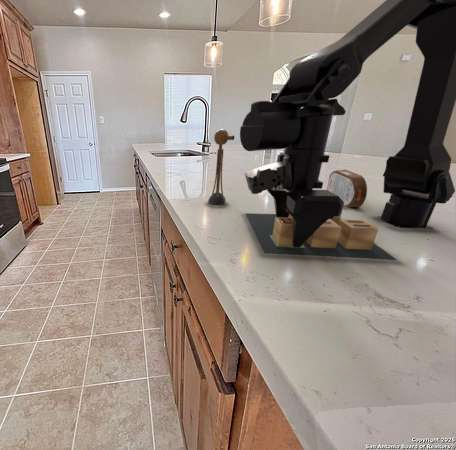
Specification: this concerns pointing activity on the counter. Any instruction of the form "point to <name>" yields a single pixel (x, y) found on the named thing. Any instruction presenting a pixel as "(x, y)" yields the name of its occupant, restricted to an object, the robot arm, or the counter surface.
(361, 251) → the letter mat
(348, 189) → the tin
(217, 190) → the wooden tabletop sculpture
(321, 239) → the front word
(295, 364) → the counter surface
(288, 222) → the s tile
